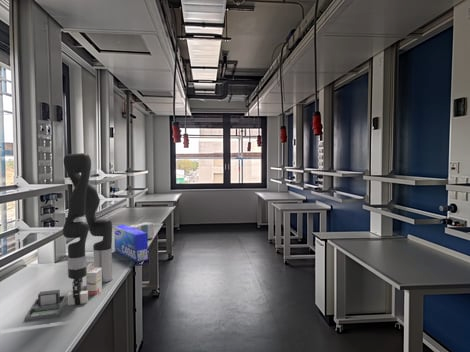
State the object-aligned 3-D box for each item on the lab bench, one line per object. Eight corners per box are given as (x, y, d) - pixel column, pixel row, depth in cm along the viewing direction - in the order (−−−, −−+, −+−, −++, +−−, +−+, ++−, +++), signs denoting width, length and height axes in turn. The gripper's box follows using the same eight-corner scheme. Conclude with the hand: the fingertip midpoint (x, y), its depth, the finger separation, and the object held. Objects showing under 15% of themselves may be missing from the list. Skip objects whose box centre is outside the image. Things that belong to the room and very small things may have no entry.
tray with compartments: (36, 304, 160) (36, 299, 160) (66, 301, 164) (66, 295, 163) (24, 324, 141) (24, 317, 141) (58, 319, 145) (58, 313, 144)
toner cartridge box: (114, 251, 255) (113, 225, 254) (125, 249, 260) (124, 224, 260) (136, 263, 225) (135, 234, 224) (148, 260, 230) (148, 232, 229)
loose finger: (69, 304, 161) (68, 292, 160) (88, 301, 163) (88, 290, 163) (67, 307, 156) (67, 295, 156) (87, 305, 159) (87, 293, 159)
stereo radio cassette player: (135, 243, 278) (134, 218, 277) (127, 242, 282) (127, 217, 281) (154, 238, 296) (153, 214, 295) (147, 237, 300) (146, 214, 299)
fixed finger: (40, 303, 158) (40, 291, 158) (60, 301, 160) (59, 289, 160) (38, 307, 154) (37, 295, 154) (58, 305, 156) (58, 293, 156)
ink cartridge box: (97, 296, 169) (96, 266, 168) (86, 297, 168) (85, 266, 168) (102, 290, 177) (101, 261, 177) (92, 290, 177) (91, 261, 176)
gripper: (70, 262, 165) (71, 298, 165) (65, 271, 151) (66, 311, 152) (87, 261, 167) (88, 296, 168) (84, 269, 153) (85, 308, 154)
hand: (78, 303), depth 160 cm, fingers closed on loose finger, 4 cm apart
